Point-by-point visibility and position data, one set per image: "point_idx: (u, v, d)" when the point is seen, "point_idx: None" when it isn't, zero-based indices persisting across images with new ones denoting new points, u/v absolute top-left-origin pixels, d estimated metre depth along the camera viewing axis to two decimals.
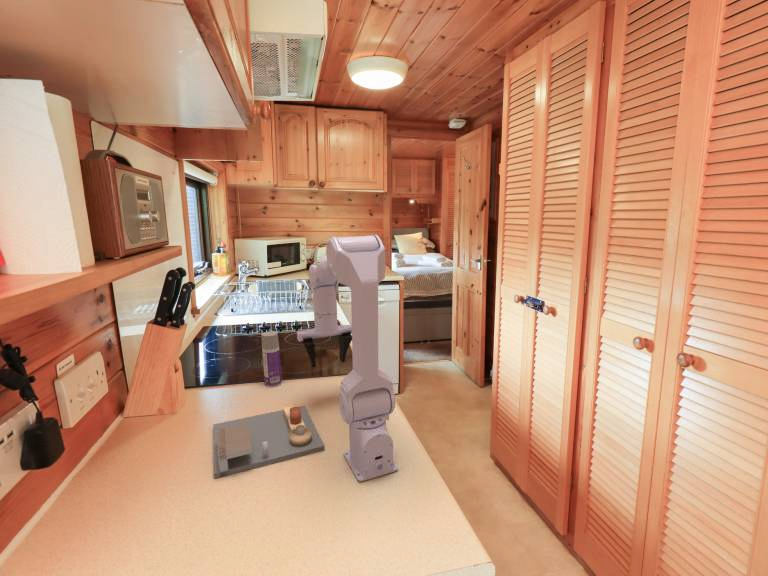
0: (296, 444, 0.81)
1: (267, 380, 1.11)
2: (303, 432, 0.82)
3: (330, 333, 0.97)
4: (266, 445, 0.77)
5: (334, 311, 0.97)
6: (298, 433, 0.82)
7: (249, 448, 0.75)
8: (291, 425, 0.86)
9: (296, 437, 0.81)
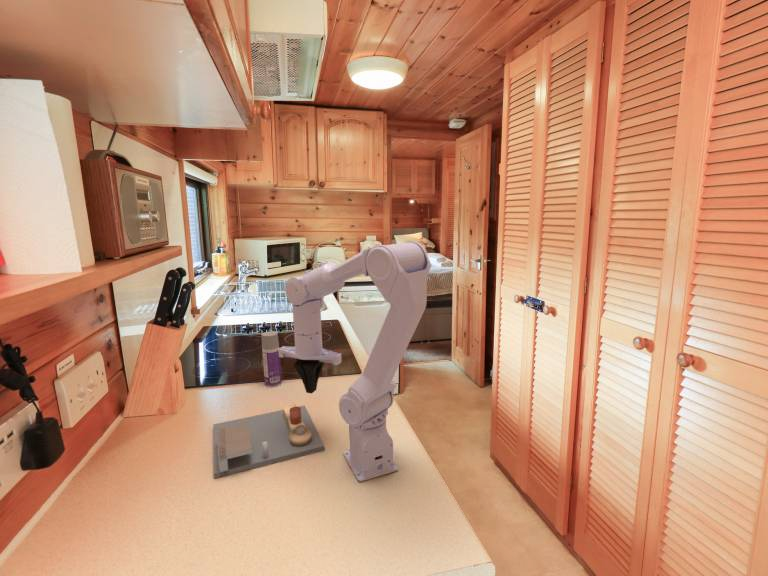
0: (296, 444, 0.81)
1: (267, 380, 1.11)
2: (303, 432, 0.82)
3: (302, 357, 0.81)
4: (266, 445, 0.77)
5: (320, 329, 0.83)
6: (298, 433, 0.82)
7: (249, 448, 0.75)
8: (291, 425, 0.86)
9: (296, 437, 0.81)
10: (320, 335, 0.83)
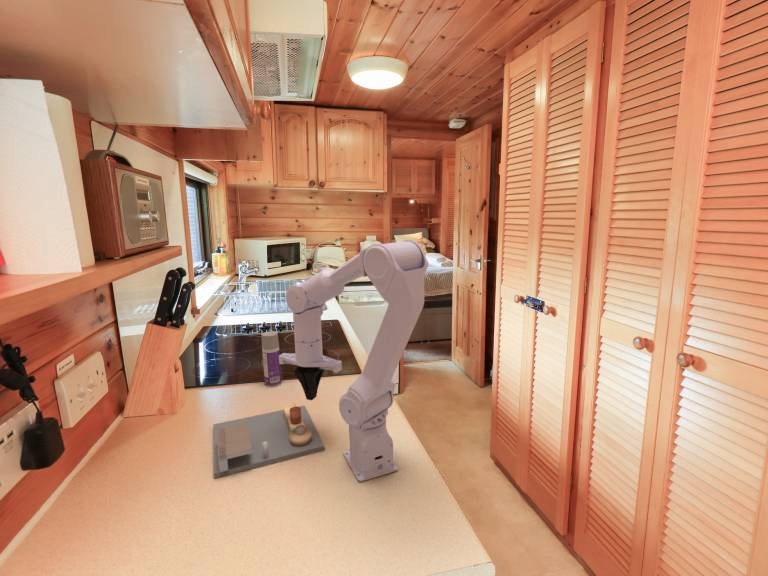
0: (296, 444, 0.81)
1: (267, 380, 1.11)
2: (303, 432, 0.82)
3: (302, 364, 0.82)
4: (266, 445, 0.77)
5: (321, 336, 0.83)
6: (298, 433, 0.82)
7: (249, 448, 0.75)
8: (291, 425, 0.86)
9: (296, 437, 0.81)
10: (320, 342, 0.83)
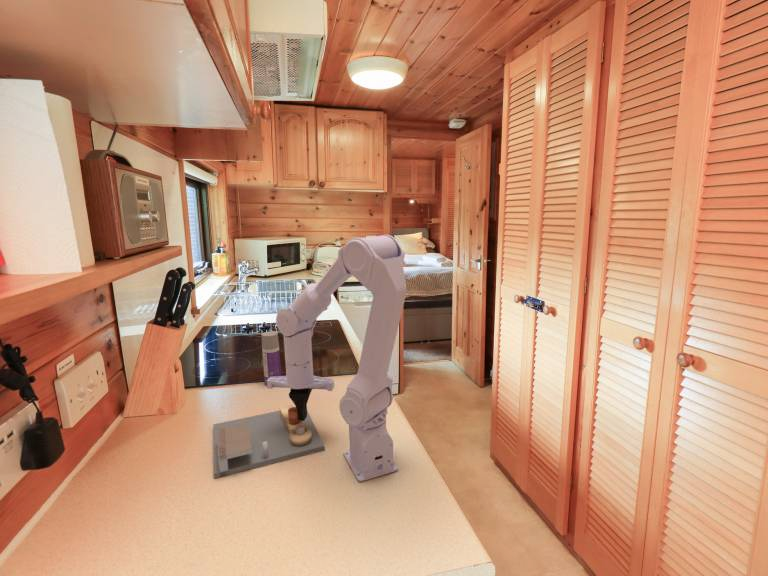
0: (297, 444, 0.81)
1: None
2: (303, 432, 0.82)
3: (296, 387, 0.83)
4: (266, 445, 0.77)
5: None
6: (298, 433, 0.82)
7: (249, 448, 0.75)
8: (290, 425, 0.86)
9: (296, 437, 0.81)
10: (312, 363, 0.85)
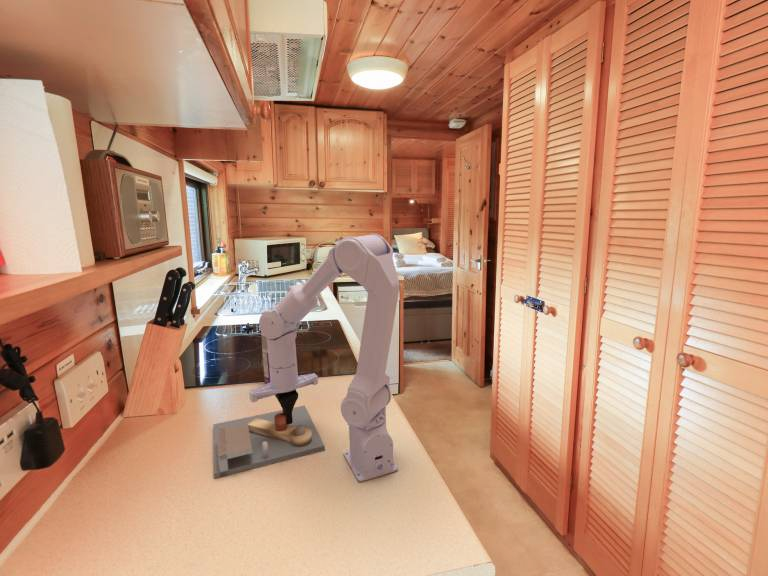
0: (304, 443, 0.81)
1: (267, 380, 1.11)
2: (304, 430, 0.83)
3: (290, 389, 0.82)
4: (266, 445, 0.77)
5: (296, 360, 0.84)
6: (301, 433, 0.82)
7: (249, 448, 0.75)
8: (281, 432, 0.83)
9: (302, 437, 0.81)
10: None
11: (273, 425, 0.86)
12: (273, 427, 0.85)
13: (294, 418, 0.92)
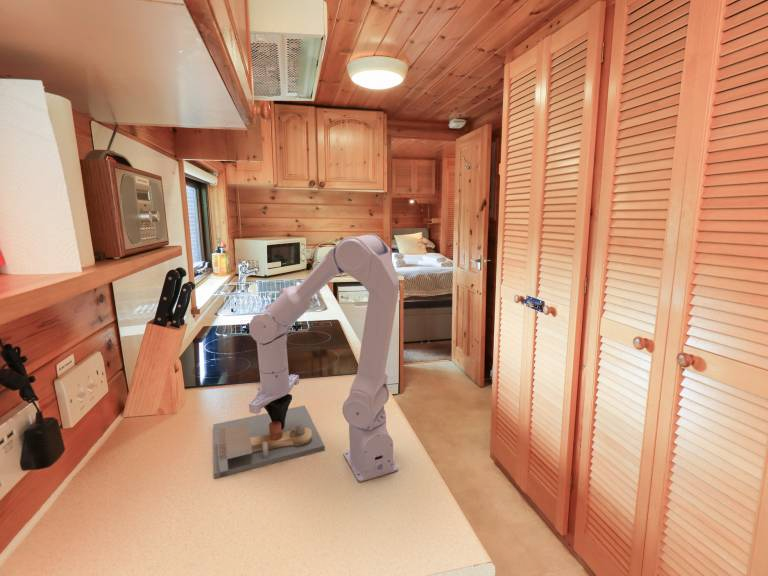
0: (310, 440, 0.82)
1: None
2: None
3: (288, 391, 0.81)
4: (266, 445, 0.77)
5: None
6: (303, 432, 0.82)
7: (249, 448, 0.75)
8: (281, 439, 0.81)
9: (307, 434, 0.82)
10: None
11: (264, 438, 0.81)
12: (267, 439, 0.81)
13: (294, 418, 0.92)
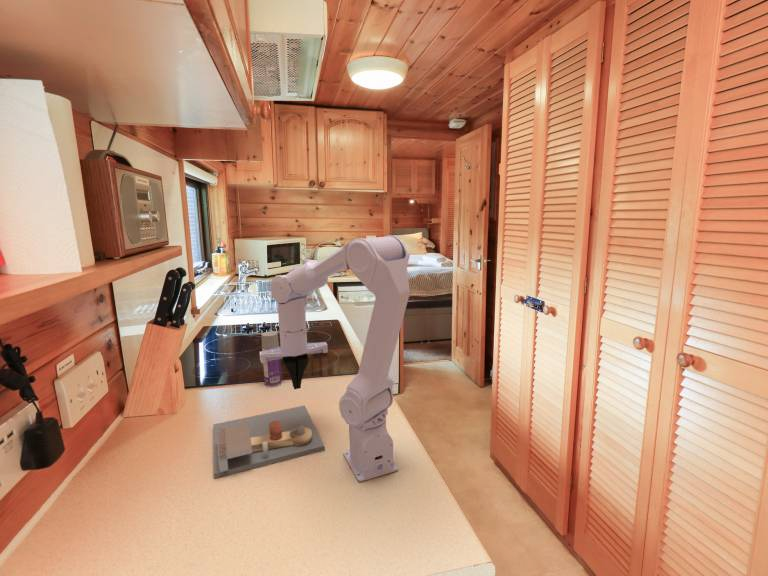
0: (310, 440, 0.82)
1: (267, 380, 1.11)
2: None
3: (297, 353, 0.84)
4: (266, 445, 0.77)
5: (305, 326, 0.85)
6: (303, 432, 0.82)
7: (249, 448, 0.75)
8: (281, 439, 0.81)
9: (307, 434, 0.82)
10: None
11: (264, 438, 0.81)
12: (267, 439, 0.81)
13: (294, 418, 0.92)
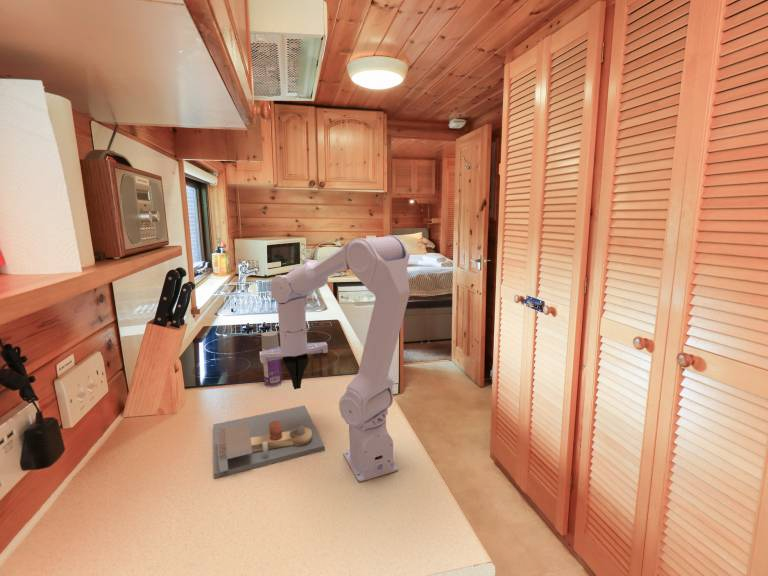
0: (310, 440, 0.82)
1: (267, 380, 1.11)
2: None
3: (297, 353, 0.84)
4: (266, 445, 0.77)
5: (305, 326, 0.85)
6: (303, 432, 0.82)
7: (249, 448, 0.75)
8: (281, 439, 0.81)
9: (307, 434, 0.82)
10: None
11: (264, 438, 0.81)
12: (267, 439, 0.81)
13: (294, 418, 0.92)
